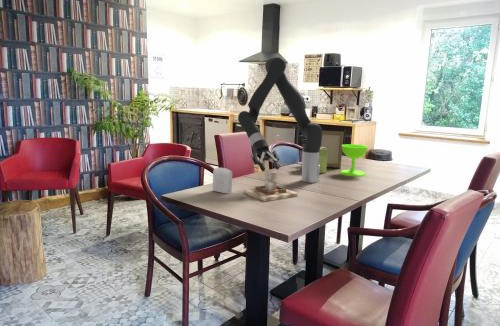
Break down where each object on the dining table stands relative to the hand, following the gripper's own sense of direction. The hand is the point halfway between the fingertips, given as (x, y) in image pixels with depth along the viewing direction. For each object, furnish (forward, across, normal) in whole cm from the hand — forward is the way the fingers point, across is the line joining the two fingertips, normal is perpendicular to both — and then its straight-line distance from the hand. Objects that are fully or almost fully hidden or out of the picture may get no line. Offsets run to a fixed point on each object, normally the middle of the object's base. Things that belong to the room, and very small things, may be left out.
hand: (271, 169), depth 181 cm
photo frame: (-22, +79, +40) cm, 91 cm away
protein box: (-14, +59, +33) cm, 69 cm away
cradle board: (+9, 0, +9) cm, 12 cm away
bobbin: (+8, 0, +8) cm, 11 cm away
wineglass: (-2, +76, +20) cm, 79 cm away
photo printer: (-2, -19, +19) cm, 27 cm away
